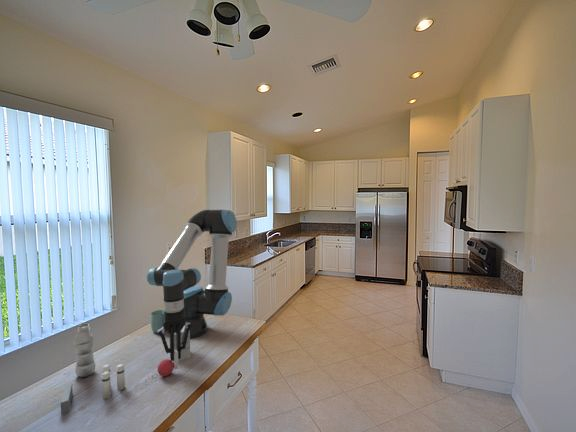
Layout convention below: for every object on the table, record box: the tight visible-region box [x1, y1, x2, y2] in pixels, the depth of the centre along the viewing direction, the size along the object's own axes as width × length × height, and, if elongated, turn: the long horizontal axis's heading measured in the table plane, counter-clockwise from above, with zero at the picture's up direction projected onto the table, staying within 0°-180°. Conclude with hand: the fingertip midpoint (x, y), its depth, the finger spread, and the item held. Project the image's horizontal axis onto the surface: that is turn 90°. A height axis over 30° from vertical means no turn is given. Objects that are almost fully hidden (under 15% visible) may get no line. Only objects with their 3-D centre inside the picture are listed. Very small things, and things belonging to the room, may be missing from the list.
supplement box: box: [174, 325, 191, 362], centre depth 128 cm, size 7×7×13 cm
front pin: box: [116, 363, 126, 391], centre depth 106 cm, size 2×2×8 cm
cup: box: [149, 309, 165, 334], centre depth 152 cm, size 8×8×10 cm
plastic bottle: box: [73, 323, 97, 378], centre depth 115 cm, size 6×7×20 cm
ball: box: [157, 358, 175, 377], centre depth 114 cm, size 6×6×6 cm
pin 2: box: [101, 371, 112, 400], centre depth 102 cm, size 2×2×8 cm
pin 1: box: [101, 363, 112, 389], centre depth 106 cm, size 2×2×8 cm
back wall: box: [60, 383, 74, 415], centre depth 98 cm, size 2×10×4 cm, turn 31°
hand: (175, 367), depth 116 cm, fingers closed
